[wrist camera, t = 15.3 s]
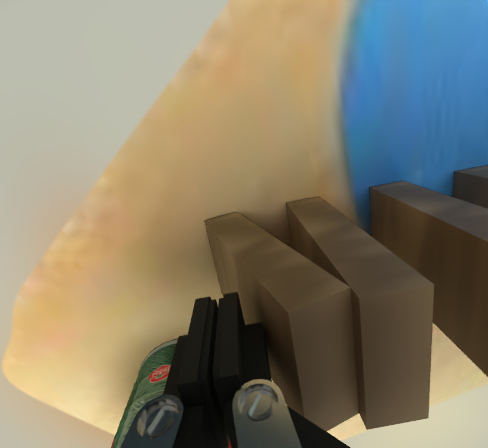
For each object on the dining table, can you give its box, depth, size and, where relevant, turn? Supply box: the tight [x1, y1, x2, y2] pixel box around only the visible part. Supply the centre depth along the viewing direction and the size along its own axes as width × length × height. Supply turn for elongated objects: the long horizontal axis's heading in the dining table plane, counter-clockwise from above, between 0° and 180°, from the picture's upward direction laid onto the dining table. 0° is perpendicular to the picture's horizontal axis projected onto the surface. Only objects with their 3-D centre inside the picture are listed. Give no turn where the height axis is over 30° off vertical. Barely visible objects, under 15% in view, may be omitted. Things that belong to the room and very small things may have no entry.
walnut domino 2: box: [286, 196, 434, 430], centre depth 13 cm, size 2×5×10 cm, turn 10°
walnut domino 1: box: [204, 212, 359, 431], centre depth 13 cm, size 2×5×10 cm, turn 11°
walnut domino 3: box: [369, 181, 488, 376], centre depth 13 cm, size 2×5×10 cm, turn 10°
